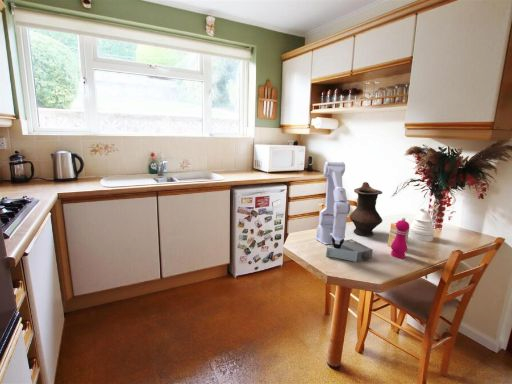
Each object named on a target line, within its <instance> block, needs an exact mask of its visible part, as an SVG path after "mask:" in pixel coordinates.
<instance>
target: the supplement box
mask: <svg viewBox="0 0 512 384" xmlns="http://www.w3.org/2000/svg"><path fill="white" fill-rule="evenodd" d="M396 223H397V222H391V224H390V229H389V234H388V241H387V247H390V248H391V245H392V242H393V241H394V240H395V238H396V234H397V233H396V229H397V228H396ZM409 230H410V228H409V229H408V230H407V234H406V237H405V240H406V244H407V245H408V238H409Z"/></svg>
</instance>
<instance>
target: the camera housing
mask: <svg viewBox="0 0 512 384" xmlns="http://www.w3.org/2000/svg"><path fill="white" fill-rule="evenodd" d="M340 249H344V250H349V251H355V252H358V253H357V261H356V262H361V261H365V260H368V259H372V257H373V249H372V248H371V247H369V246H366V245H364V244H363V243H360V242H358V241H356V240H354V239H344V242H343V244H342V245H341V248H340Z"/></svg>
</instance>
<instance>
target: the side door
mask: <svg viewBox="0 0 512 384" xmlns="http://www.w3.org/2000/svg"><path fill="white" fill-rule="evenodd" d="M357 253H358V252H355V251H349V250H344V249H338V248H334V246H333V247H331V246H326V254H325V256H326V257H330V258H336V259H339V260H340V259H341V260H345V261H350V262H358V261H357Z"/></svg>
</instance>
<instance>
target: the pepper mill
mask: <svg viewBox="0 0 512 384" xmlns="http://www.w3.org/2000/svg"><path fill="white" fill-rule="evenodd" d="M395 223H396V228H397V229H396V233H397V234H396V238H395V240H394V241H393V242H392V245H391V247H390V249H391V253H390V255H391V256H392V257H394V258H395V259H405V257H406V252H407V251H408V243H407V244H406V240H405V237H406V234H407V230H408V229H409V230H410V223H409V222H408V221H406V217H402V218H401V220H398V221H397V222H395Z"/></svg>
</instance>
